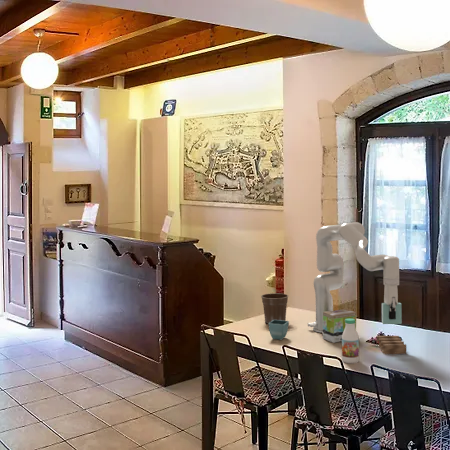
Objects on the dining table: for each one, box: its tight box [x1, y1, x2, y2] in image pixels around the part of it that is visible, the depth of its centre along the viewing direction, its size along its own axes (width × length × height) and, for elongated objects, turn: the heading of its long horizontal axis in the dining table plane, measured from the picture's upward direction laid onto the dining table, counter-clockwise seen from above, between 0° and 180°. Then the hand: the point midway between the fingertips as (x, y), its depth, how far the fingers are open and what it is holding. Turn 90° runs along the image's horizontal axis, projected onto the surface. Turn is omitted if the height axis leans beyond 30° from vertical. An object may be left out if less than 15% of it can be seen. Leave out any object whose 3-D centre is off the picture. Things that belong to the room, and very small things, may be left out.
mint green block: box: [381, 302, 403, 325], centre depth 303 cm, size 9×3×10 cm, turn 87°
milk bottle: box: [341, 318, 360, 364], centre depth 286 cm, size 8×8×20 cm
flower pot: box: [267, 320, 290, 341], centre depth 328 cm, size 9×9×9 cm
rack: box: [376, 335, 407, 355], centre depth 304 cm, size 11×16×4 cm
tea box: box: [322, 308, 357, 344], centre depth 324 cm, size 15×10×15 cm
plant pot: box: [260, 292, 289, 324], centre depth 362 cm, size 16×16×16 cm
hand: (391, 317), depth 303 cm, fingers closed on mint green block, 3 cm apart
